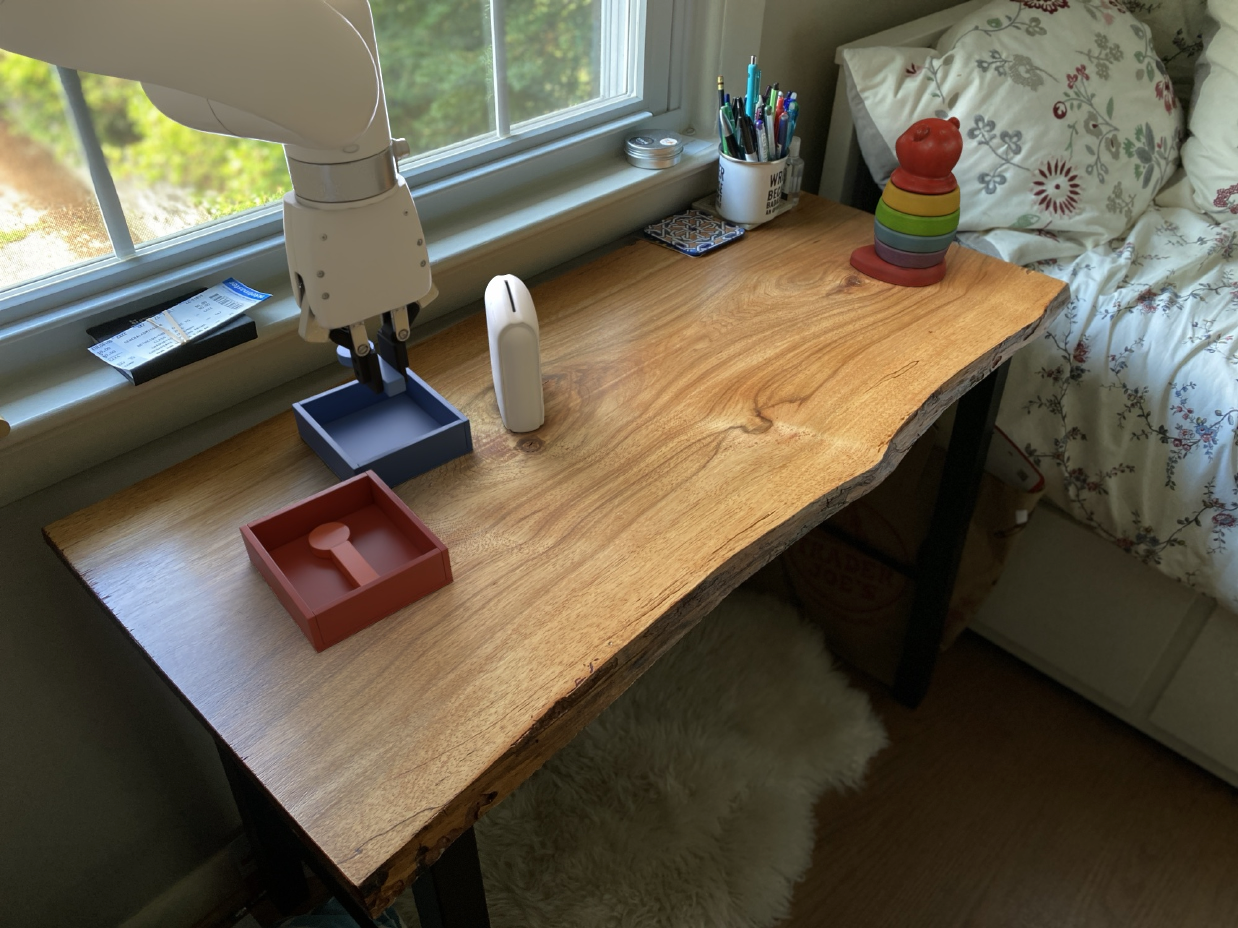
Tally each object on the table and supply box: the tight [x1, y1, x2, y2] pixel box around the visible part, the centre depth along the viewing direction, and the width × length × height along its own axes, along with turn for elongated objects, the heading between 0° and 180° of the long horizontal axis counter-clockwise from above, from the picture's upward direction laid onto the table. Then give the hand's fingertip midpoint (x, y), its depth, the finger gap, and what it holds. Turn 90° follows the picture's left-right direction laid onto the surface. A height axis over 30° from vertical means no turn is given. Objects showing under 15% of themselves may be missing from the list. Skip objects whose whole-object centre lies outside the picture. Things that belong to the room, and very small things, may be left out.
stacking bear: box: [849, 116, 964, 287], centre depth 107 cm, size 11×10×18 cm
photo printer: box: [484, 273, 545, 433], centre depth 86 cm, size 10×4×12 cm, turn 13°
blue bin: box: [291, 367, 474, 489], centre depth 84 cm, size 11×12×4 cm
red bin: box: [238, 470, 454, 654], centre depth 71 cm, size 11×12×4 cm
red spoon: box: [308, 522, 380, 589], centre depth 72 cm, size 9×3×1 cm, turn 39°
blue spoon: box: [336, 339, 406, 397], centre depth 80 cm, size 9×3×1 cm, turn 39°
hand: (384, 380), depth 79 cm, fingers closed on blue spoon, 1 cm apart
